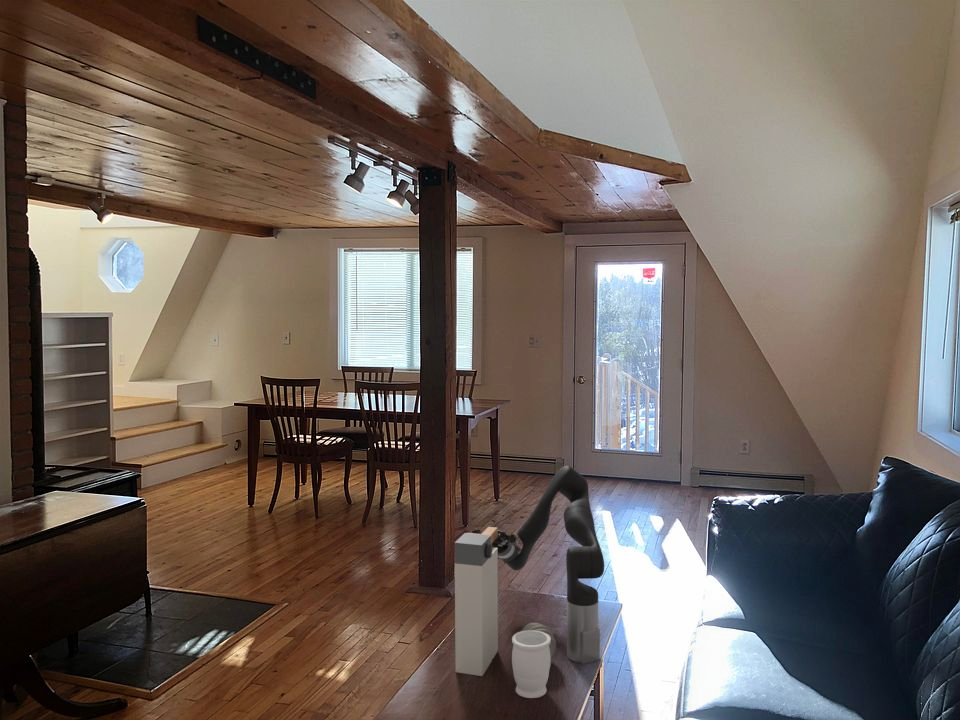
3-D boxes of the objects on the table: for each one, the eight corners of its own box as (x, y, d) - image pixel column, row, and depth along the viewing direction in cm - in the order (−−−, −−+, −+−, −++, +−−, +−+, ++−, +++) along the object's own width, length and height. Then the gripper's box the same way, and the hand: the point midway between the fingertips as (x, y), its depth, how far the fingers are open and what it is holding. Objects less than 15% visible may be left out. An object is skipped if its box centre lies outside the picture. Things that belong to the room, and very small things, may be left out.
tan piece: (481, 535, 242) (481, 518, 242) (504, 537, 240) (504, 520, 239) (465, 551, 227) (465, 533, 227) (490, 554, 225) (490, 536, 224)
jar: (532, 677, 218) (532, 626, 217) (558, 692, 210) (558, 638, 209) (503, 690, 211) (503, 637, 210) (529, 705, 203) (530, 650, 202)
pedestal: (472, 647, 236) (471, 526, 233) (501, 651, 234) (501, 528, 230) (455, 672, 221) (454, 542, 218) (486, 676, 218) (485, 545, 215)
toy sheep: (540, 647, 236) (540, 612, 235) (568, 672, 221) (568, 634, 220) (509, 653, 232) (509, 618, 231) (535, 679, 217) (535, 641, 216)
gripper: (481, 531, 254) (468, 519, 240) (524, 535, 250) (512, 523, 235) (478, 554, 251) (464, 543, 237) (521, 558, 247) (509, 547, 232)
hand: (488, 533), depth 236 cm, fingers open, 7 cm apart
